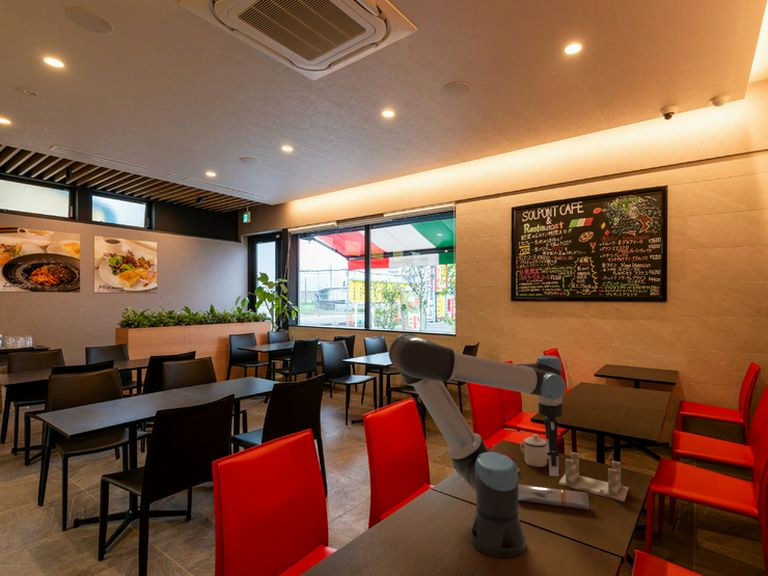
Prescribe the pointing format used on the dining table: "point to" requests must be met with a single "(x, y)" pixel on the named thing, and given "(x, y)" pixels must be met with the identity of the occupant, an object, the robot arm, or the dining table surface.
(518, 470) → the apple
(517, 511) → the robot arm
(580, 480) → the collar stand
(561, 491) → the steel tube
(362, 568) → the dining table surface
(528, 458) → the teacup with lid
